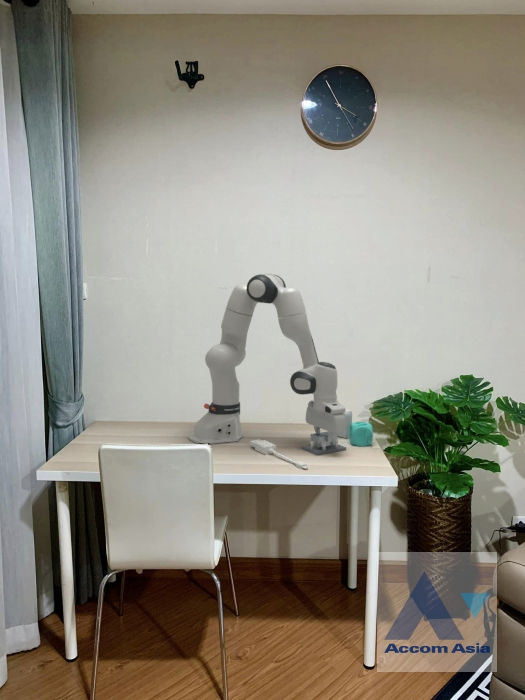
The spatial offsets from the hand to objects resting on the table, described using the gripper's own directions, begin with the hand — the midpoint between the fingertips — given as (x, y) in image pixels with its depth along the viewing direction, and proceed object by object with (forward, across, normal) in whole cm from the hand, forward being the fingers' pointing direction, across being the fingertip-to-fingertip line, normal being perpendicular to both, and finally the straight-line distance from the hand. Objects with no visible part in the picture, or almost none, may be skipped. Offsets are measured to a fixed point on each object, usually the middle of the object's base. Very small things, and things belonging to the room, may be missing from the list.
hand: (323, 439), depth 235 cm
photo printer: (+4, -12, +18) cm, 22 cm away
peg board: (+4, 0, 0) cm, 4 cm away
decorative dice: (+4, +1, +18) cm, 19 cm away
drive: (+2, 0, 0) cm, 2 cm away
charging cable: (+4, -1, -21) cm, 21 cm away
